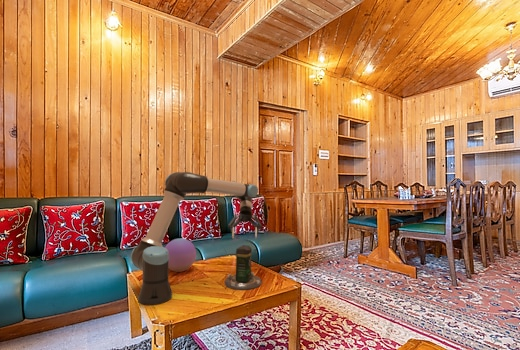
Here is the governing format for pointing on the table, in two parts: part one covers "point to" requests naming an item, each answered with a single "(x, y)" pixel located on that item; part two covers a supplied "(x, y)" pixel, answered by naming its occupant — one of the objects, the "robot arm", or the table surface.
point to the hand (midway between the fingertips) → (244, 237)
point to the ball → (181, 254)
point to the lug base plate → (236, 285)
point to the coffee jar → (243, 263)
